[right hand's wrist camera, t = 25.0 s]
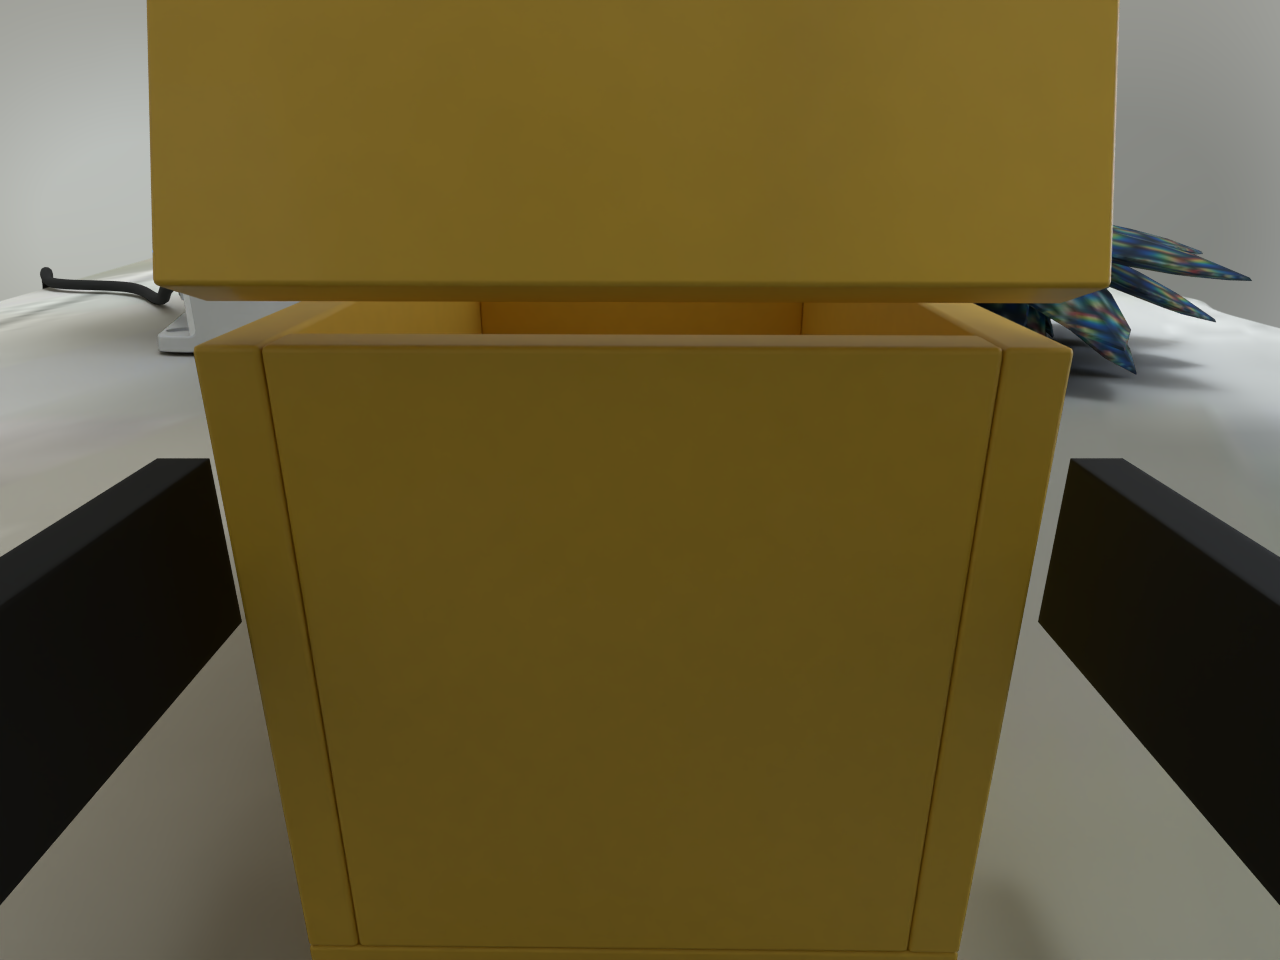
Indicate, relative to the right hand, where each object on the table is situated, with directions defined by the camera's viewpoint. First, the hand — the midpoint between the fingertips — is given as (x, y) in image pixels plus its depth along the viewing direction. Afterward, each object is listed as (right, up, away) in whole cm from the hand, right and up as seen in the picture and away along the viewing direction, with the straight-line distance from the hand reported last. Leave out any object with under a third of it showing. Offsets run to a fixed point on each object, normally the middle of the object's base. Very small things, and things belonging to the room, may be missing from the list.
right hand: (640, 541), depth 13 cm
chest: (0, -4, +6) cm, 8 cm away
